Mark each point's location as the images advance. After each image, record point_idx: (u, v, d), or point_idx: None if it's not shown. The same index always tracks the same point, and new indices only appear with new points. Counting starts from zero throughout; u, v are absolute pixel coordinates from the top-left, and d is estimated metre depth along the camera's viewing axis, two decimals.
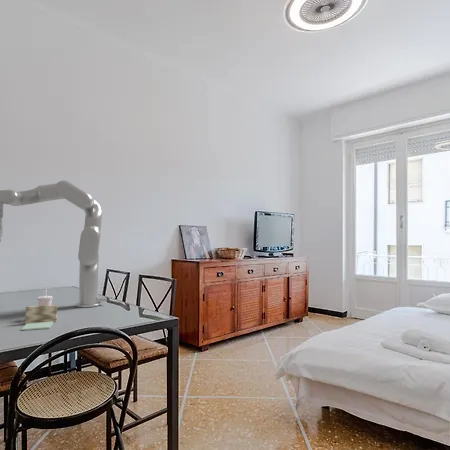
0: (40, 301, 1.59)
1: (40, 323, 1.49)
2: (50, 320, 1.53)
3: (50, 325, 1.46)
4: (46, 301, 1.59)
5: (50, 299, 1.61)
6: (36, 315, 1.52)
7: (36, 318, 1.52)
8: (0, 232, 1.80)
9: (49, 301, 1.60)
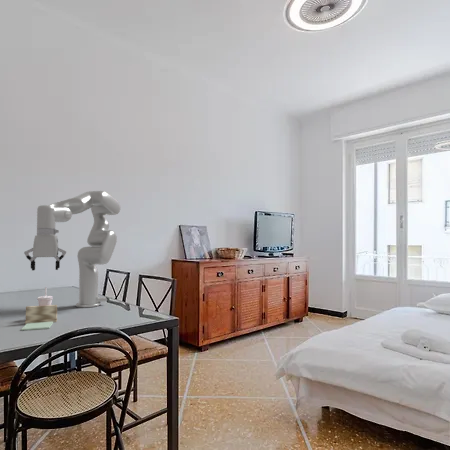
0: (40, 301, 1.59)
1: (40, 323, 1.49)
2: (50, 320, 1.53)
3: (50, 325, 1.46)
4: (46, 301, 1.59)
5: (50, 299, 1.61)
6: (36, 315, 1.52)
7: (36, 318, 1.52)
8: None
9: (49, 301, 1.60)
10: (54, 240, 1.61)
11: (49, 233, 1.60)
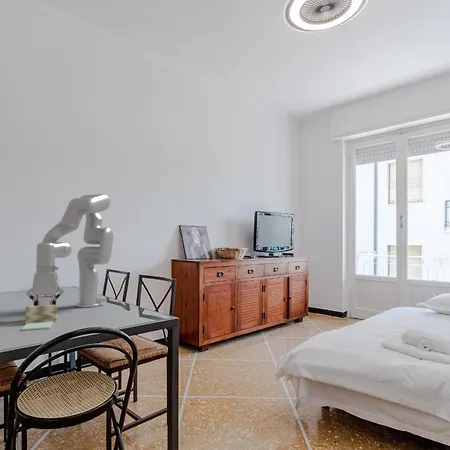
0: (40, 301, 1.59)
1: (40, 323, 1.49)
2: (50, 320, 1.53)
3: (50, 325, 1.46)
4: (46, 301, 1.59)
5: (50, 299, 1.61)
6: (36, 315, 1.52)
7: (36, 318, 1.52)
8: None
9: (49, 301, 1.60)
10: (54, 277, 1.61)
11: (49, 271, 1.59)
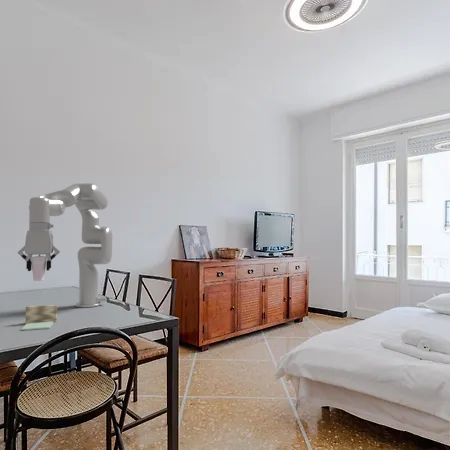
0: (33, 261, 1.44)
1: (40, 323, 1.49)
2: (50, 320, 1.53)
3: (50, 325, 1.46)
4: (40, 261, 1.45)
5: (44, 259, 1.46)
6: (36, 315, 1.52)
7: (36, 318, 1.52)
8: None
9: (43, 261, 1.46)
10: (48, 236, 1.46)
11: (43, 228, 1.45)
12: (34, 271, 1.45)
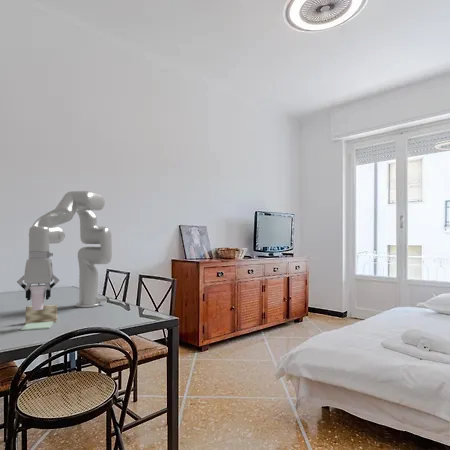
0: (32, 290, 1.44)
1: (40, 323, 1.49)
2: (50, 320, 1.53)
3: (50, 325, 1.46)
4: (39, 290, 1.44)
5: (44, 288, 1.46)
6: (36, 315, 1.52)
7: (36, 318, 1.52)
8: None
9: (42, 290, 1.45)
10: (48, 264, 1.46)
11: (42, 257, 1.44)
12: (33, 300, 1.44)
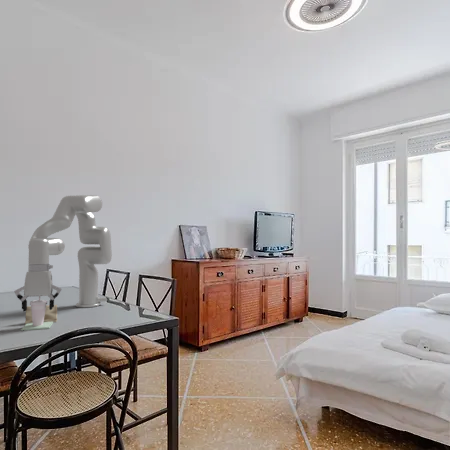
0: (33, 306, 1.44)
1: None
2: (50, 320, 1.53)
3: (50, 325, 1.46)
4: (39, 306, 1.44)
5: (44, 304, 1.46)
6: None
7: None
8: None
9: (43, 306, 1.45)
10: (48, 277, 1.46)
11: (42, 270, 1.44)
12: (33, 316, 1.44)
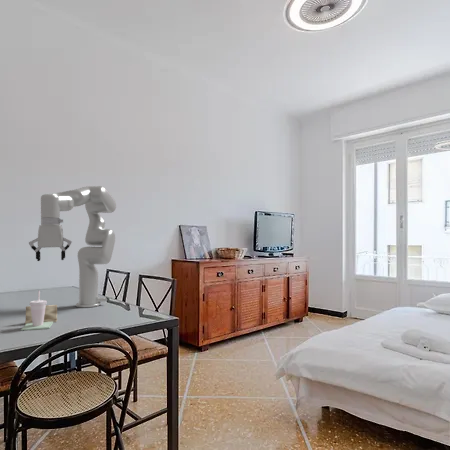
0: (32, 306, 1.44)
1: None
2: (50, 320, 1.53)
3: (50, 325, 1.46)
4: (39, 306, 1.44)
5: (44, 304, 1.46)
6: None
7: None
8: None
9: (42, 306, 1.45)
10: (59, 230, 1.58)
11: (54, 223, 1.56)
12: (33, 316, 1.44)
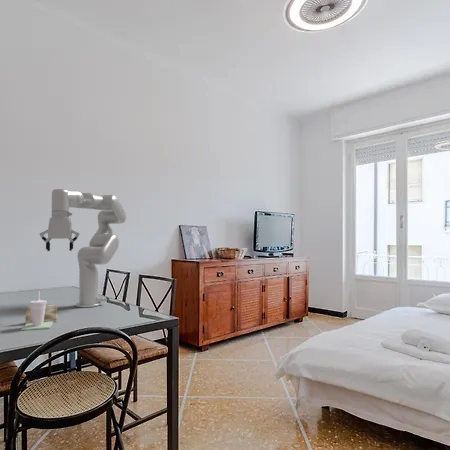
0: (32, 306, 1.44)
1: None
2: (50, 320, 1.53)
3: (50, 325, 1.46)
4: (39, 306, 1.44)
5: (44, 304, 1.46)
6: None
7: None
8: None
9: (42, 306, 1.45)
10: (68, 222, 1.69)
11: (63, 215, 1.67)
12: (33, 316, 1.44)
